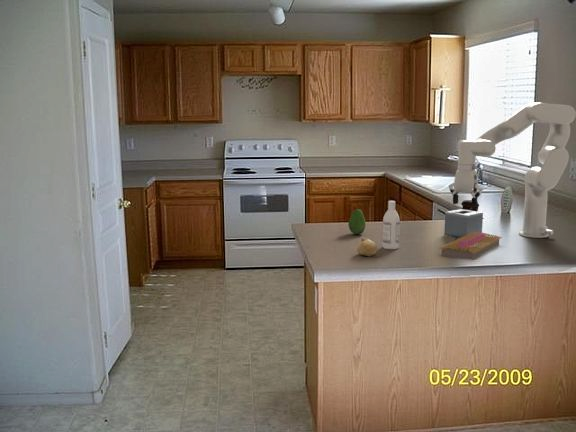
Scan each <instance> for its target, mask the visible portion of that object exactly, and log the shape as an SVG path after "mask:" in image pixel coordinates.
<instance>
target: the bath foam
mask: <svg viewBox="0 0 576 432" xmlns="http://www.w3.org/2000/svg"><path fill="white" fill-rule="evenodd" d="M387 203H388V205H387V208H388V209H387V210H386V212H385V213H384V215H383V218H382V238H381V239H382V240H381V241H382V243H381V245H382V248H383V249H385V250H397V249H399V247H400V228H401V227H400V224H401V221H400V220H401V219H400V216H399V214H398V211H397V210H396V201H395V200H388V202H387Z"/></svg>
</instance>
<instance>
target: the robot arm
mask: <svg viewBox="0 0 576 432" xmlns="http://www.w3.org/2000/svg"><path fill="white" fill-rule="evenodd" d="M575 119H576V109H575V108H574V107H573V106H572V105H569V104H559V103H558V104H557V103H548V102H547V103H546V102H529V103H527V104H525V105H524V106H523V107H521V108H520V109H519V110H517V111H516V112H515V113H513V115H511V116H509V117H508V118H507V119H505V120H504V121H502V122H501V123H499V124H497V125H496V126H494V127H492V128H491V129H488V130H487V131H486V132H484V133H483V134H482V135H480V136H479V137H478V138H476V139H475V140H473V139H465V140H464V139H463V140H459V143H458V153H457V154H458V156H457V157H458V158H457V170H456V171H455V175H454V182H453V183H451V184H449V185H448V189H449V191H450V193H451V195H452V204H453V205H457V204H459V193H463V194H470V195H471V200H472V202H471V206H472V207H474V206H476V205H477V202H478V198H479V197H480V196H481V195H482V193H483V191H484V188H482V187H481V186H480V185H479V179H478V178H479V177H478V171H476V170H477V169H478V165H476V158H477V157H482V158H483V157H484V158H489V157H492V155H494V154H495V152H496V150H497V149H496V148H497V147H496V145H497V144H500V143H502V142H503V141H506V140H509V139H513V138H515V137H517V136H518V135H520V134H521V133H522V132H524V131H526V129H528V128H529V127H530V126H532V125H533V124H535V123H544V124H549V133H548V135H547V137H546V139H545V141H544V143H543V145H542V147H541V149H540V151H539V153H538V156H537V159H538V162H539V163H540V164H541V167H540V166H534V167H531V168H529V169H528V170H527V171H526V173H525V174H524V175H525V176H524V187H525V188H524V189H525V192H524V193H525V194H524V206H523V207H524V208H523V222H522V223H523V225H522V226H523V227H522V230H520V231H519V232H518V235H519V236H521V237H525V238H534V239H544V238H548V237H549V235H550V236H551V235H554V230H553V229H548V227H549V226H546V223H547V209H548V199H549V198H548V197H549V196H548V191H550V190H553V188H555V186H556V185H557V184H558V182H559V181H560V179H561V177H562V175H563V173H564V171H565V169H566V168H567V165H568V163H569V160H570V155H569V152H568V150H567V148H566V146H567V144H568V142H569V139H570V137H571V125H570V124H572V123H573V122H574V120H575Z"/></svg>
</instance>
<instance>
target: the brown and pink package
mask: <svg viewBox="0 0 576 432" xmlns="http://www.w3.org/2000/svg"><path fill="white" fill-rule="evenodd" d="M501 239H503V237H501V236H498V235H494V234H489V233H485V232H483V231H482V232H477V233H469V234H467V235H465V236H463V237H461V238H456V239H454V240H452V241H450V242H449V243H447V244H444V245H442V246H440V247H439V248H438V249H441V256H443V257H451V258H456V259H457V258H458V259H463V260H464V259H465V260H471V261H473V260H474V259H476V258H478V257H480V256H481V255H483V254H485V253H487V252H488V251H490V250H492V249H494V248H495V247H497V246H498V245H500V240H501Z"/></svg>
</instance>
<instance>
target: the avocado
mask: <svg viewBox="0 0 576 432" xmlns="http://www.w3.org/2000/svg"><path fill="white" fill-rule="evenodd" d="M348 229H349V230H350V233H352V234H354V235H356V234H359V235H361V234H363V233H364V231H365V229H366V219H365V216H364V213H363V210H361V209H358V208H357V209H355V210H353V211H352V213H351V214H350V217H349V219H348Z"/></svg>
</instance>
